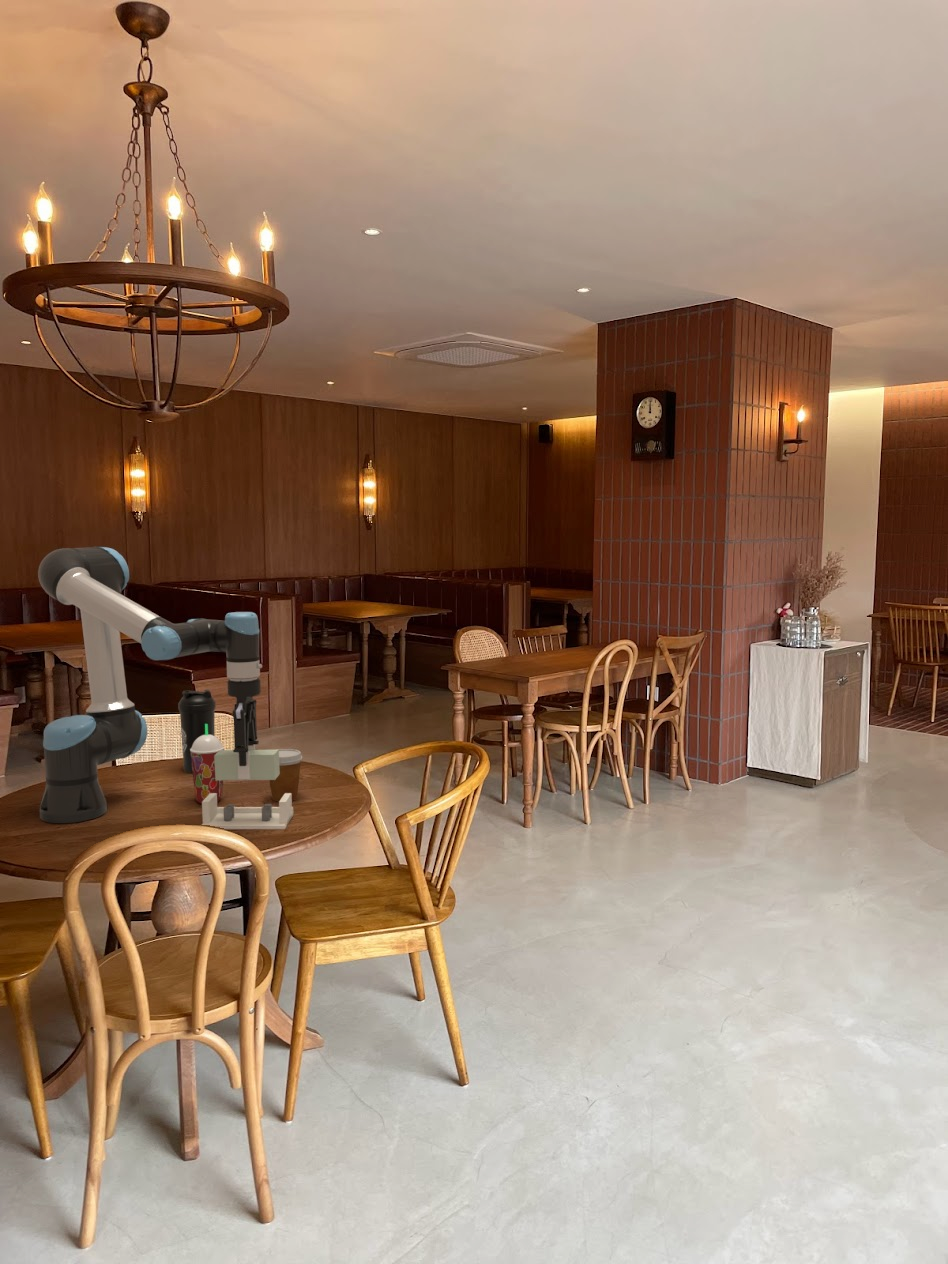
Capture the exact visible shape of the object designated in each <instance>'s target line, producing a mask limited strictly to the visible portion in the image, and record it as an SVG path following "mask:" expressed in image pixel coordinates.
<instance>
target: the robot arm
mask: <svg viewBox="0 0 948 1264" xmlns="http://www.w3.org/2000/svg"><path fill="white" fill-rule="evenodd" d="M37 575H38V576H37V577H38V581H39V584H40V586H41V588H42V589H43V590H44V592H45V593H46V594H47V595H48V596H50V597H51V598H53V599H54V600H56V601H58V602H59V603H61V604H63V605H66V606H71V605H73V606H75V607H77V608H78V609H79V610H80V618H81V625H82V634H83V642H84V643H83V644H84V652H85V659H86V667H87V668H86V669H87V675H88V684H89V692H90V701H91V703H90V704H89V706H88V707H87V708H86V710H85V712H86V713H85V714H76V715H71V716H63V717H61V718H58V719H55V720H52V721H50V722H49V723H48V724H47V725H46V726H45V728H44V729H43V740H42V745H43V746H42V747H43V755H44V771H45V772H44V773H45V789H44V792H43V796H42V799H41V803H40V806H39V819H40V820H41V821H43V822H46V823H50V824H51V823H52V824H71V823H72V824H73V823H79V822H85V821H90V820H92V819H96V818H99V817H101V816H103V815H105V814H106V813H107V812H108V808H107V799H106V797H105V795H104V792H103V789H102V787H101V785H100V782H99V778H98V777H99V775H98V766H99V765H103V764H107V763H109V762H113V761H116V760H119V759H122V760H123V759H126V758H128V757H130V756H132V755H134V754H136V753H138V752H139V751H140V750H141V749H142V748H143V746H144V745H145V743H146V741H147V737H148V724H147V722H146V721H147V720H146V719H145V717H143V714H142V713H141V712H139V710H136V708H135V702H132V701H131V700H130V699H129V698H128V693H127V691H128V690H127V684H126V676H125V667H124V666H125V665H124V658H123V650H122V643H121V633H122V634H123V635H125V636H127V637H129V638H130V639H132V640H134V641H135V642H137V643H139V644H141V645H140V646H141V648H142V651H143V652H144V653H145V656H147V657H148V658H149V659H150V660H152V661H169V660H172V659H175V658H176V659H177V658H181V657H185V656H186V657H187V656H191V655H192V656H193V655H196V654H197V655H198V654H202V653H207V652H213V653H214V652H217V653H225V654H226V677H227V679H228V680H227V681H226V682H227V683H226V684H227V695H228V696H229V697H231V698H236V700H235V701H236V703H235V704H234V708H233V710H232V718H233V737H234V738H233V739H234V740H233V741H234V742H233V743H234V748H233V749H232V750H233V752H237V760H238V779H250V751H248V750H256V745H259V743H260V742H259V740H258V730H257V729H258V728H257V727H258V726H257V725H258V724H257V699H254V697H256V696H259V695H260V694H261V692H262V691H261V687H262V686H261V685H262V684H261V679H260V678H259V677H260V676H261V669H262V668H263V664H262V663H260V628H259V619H258V615H257V614H256V613H255V612H253V611H235V612H228V613H226V615H225V617H224V620H219V619H207V618H202V617H201V618H191V619H188V620H187V621H186V622H180V623H179V622H178V623H173V622H171V621H169V620H167V619H165V618H163V617H162V616H159V615H158V614H157V613H154V612H152V611H151V610H150V609H148V608H146V607H144V606H142V605H141V604H139V603H137V602H135V601H133V600H131V599H130V598H128V597H126V596H125V595H123V594H122V591H123V590H124V589H125V588H126V587H127V585H128V584H127V583H128V582H129V581H130V570H129V566H128V564H127V561H126V559H125V558H124V557H123V555H122V554H121V553H119V551H117V550H115V549H114V548H110V547H106V546H89V547H74V548H73V547H72V548H71V547H66V548H65V547H64V548H59V549H55V550H53V551H51V552H48V554H47V555H45V557H44V558H43V559H42V560H41V562H40V564H39V566H38V571H37Z"/></svg>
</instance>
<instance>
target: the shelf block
mask: <svg viewBox="0 0 948 1264" xmlns="http://www.w3.org/2000/svg"><path fill="white" fill-rule="evenodd" d="M233 750H234V749H224V750H220V751H219V752H218V753H217V754H215V755H214V759H215V779H216V780H223V781H270V780H275V779H276V778H277V777H278V776H279V774H280V768H279V749H255V750H248V751H250V779H238V760H237V752H233Z"/></svg>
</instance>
